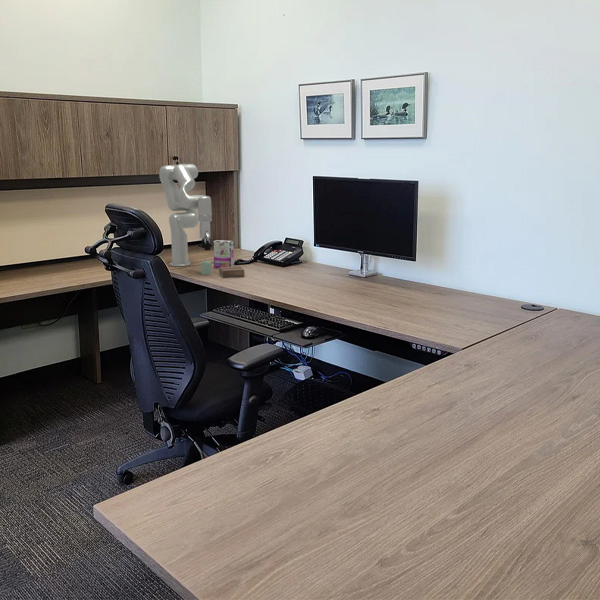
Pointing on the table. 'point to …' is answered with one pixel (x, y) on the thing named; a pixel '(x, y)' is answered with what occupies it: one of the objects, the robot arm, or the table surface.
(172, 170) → the robot arm
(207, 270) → the sage block
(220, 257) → the candy bar box
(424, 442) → the table surface
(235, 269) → the walnut block
